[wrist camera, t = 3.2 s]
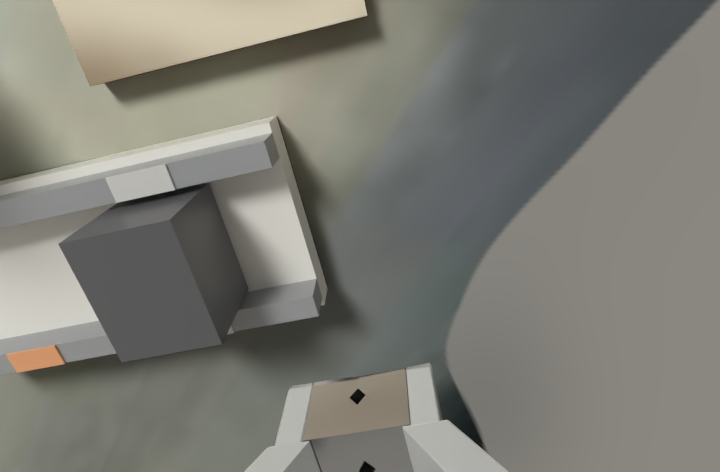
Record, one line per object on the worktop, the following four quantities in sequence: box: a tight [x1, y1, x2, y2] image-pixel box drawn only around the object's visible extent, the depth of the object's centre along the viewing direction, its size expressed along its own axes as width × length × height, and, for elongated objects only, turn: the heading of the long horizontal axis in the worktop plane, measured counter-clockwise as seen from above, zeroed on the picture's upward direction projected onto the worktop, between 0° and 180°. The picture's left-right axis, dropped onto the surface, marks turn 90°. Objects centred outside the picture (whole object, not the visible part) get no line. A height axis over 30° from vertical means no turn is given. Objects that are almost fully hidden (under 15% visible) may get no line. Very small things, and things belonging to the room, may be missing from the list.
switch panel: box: [0, 116, 328, 375], centre depth 21 cm, size 8×18×3 cm, turn 103°
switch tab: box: [58, 183, 248, 362], centre depth 18 cm, size 5×4×4 cm
